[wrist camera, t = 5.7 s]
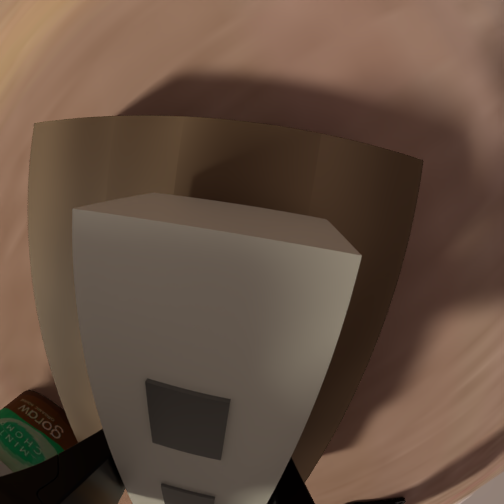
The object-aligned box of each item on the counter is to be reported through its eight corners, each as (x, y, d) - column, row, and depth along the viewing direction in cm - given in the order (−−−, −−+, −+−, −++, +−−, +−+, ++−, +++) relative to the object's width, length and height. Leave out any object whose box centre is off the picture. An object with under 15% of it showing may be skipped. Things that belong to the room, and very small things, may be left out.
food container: (102, 418, 16) (37, 518, 6) (115, 460, 17) (70, 543, 8) (-3, 357, 16) (-69, 414, 7) (16, 404, 18) (-36, 459, 8)
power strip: (313, 205, 9) (375, 271, 3) (250, 465, 13) (233, 563, 7) (191, 187, 9) (45, 214, 3) (180, 450, 13) (145, 542, 7)
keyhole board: (377, 164, 10) (423, 160, 6) (285, 464, 15) (283, 513, 11) (95, 131, 11) (34, 123, 7) (111, 422, 16) (87, 461, 12)
